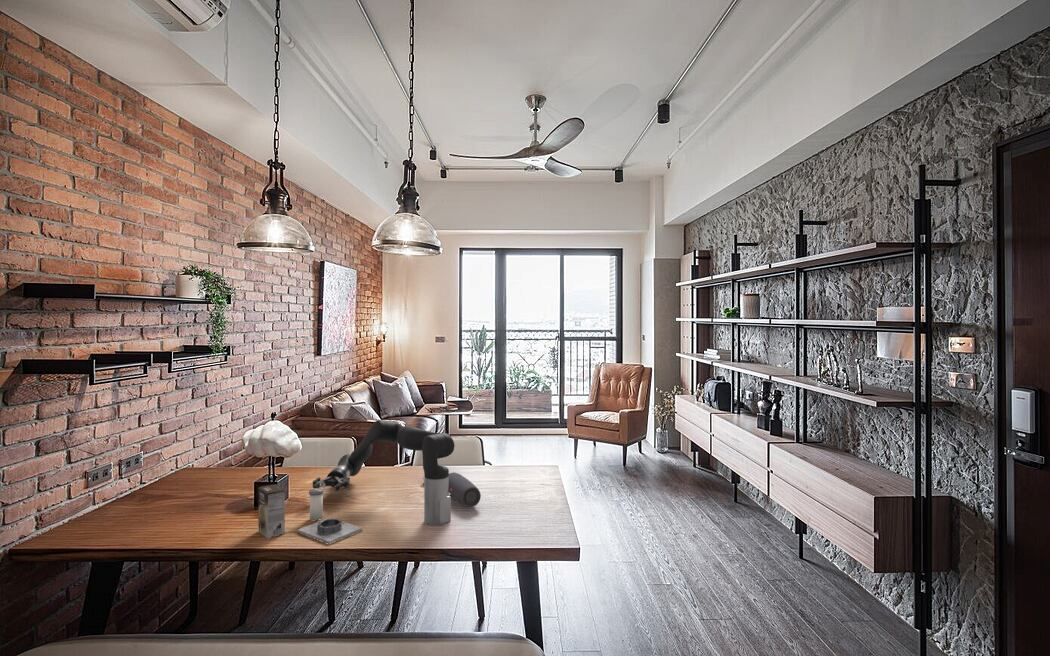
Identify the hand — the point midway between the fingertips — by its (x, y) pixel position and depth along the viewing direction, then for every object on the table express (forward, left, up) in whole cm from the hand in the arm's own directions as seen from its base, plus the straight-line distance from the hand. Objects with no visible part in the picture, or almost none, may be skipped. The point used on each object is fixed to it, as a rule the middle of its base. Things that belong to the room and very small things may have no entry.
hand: (325, 488), depth 213 cm
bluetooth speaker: (-41, -37, -8) cm, 55 cm away
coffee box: (-5, +26, -8) cm, 28 cm away
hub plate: (-22, +14, -8) cm, 27 cm away
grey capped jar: (-7, +9, -8) cm, 14 cm away
